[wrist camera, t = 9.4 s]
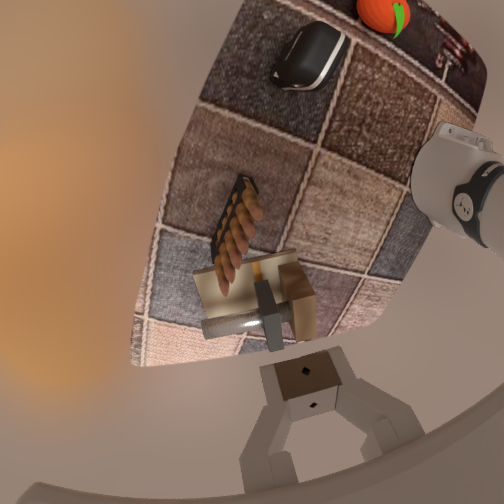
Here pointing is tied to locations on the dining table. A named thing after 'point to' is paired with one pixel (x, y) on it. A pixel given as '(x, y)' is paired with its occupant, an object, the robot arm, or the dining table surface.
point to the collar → (269, 315)
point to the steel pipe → (241, 321)
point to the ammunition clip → (235, 230)
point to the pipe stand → (282, 285)
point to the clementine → (384, 14)
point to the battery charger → (310, 58)
